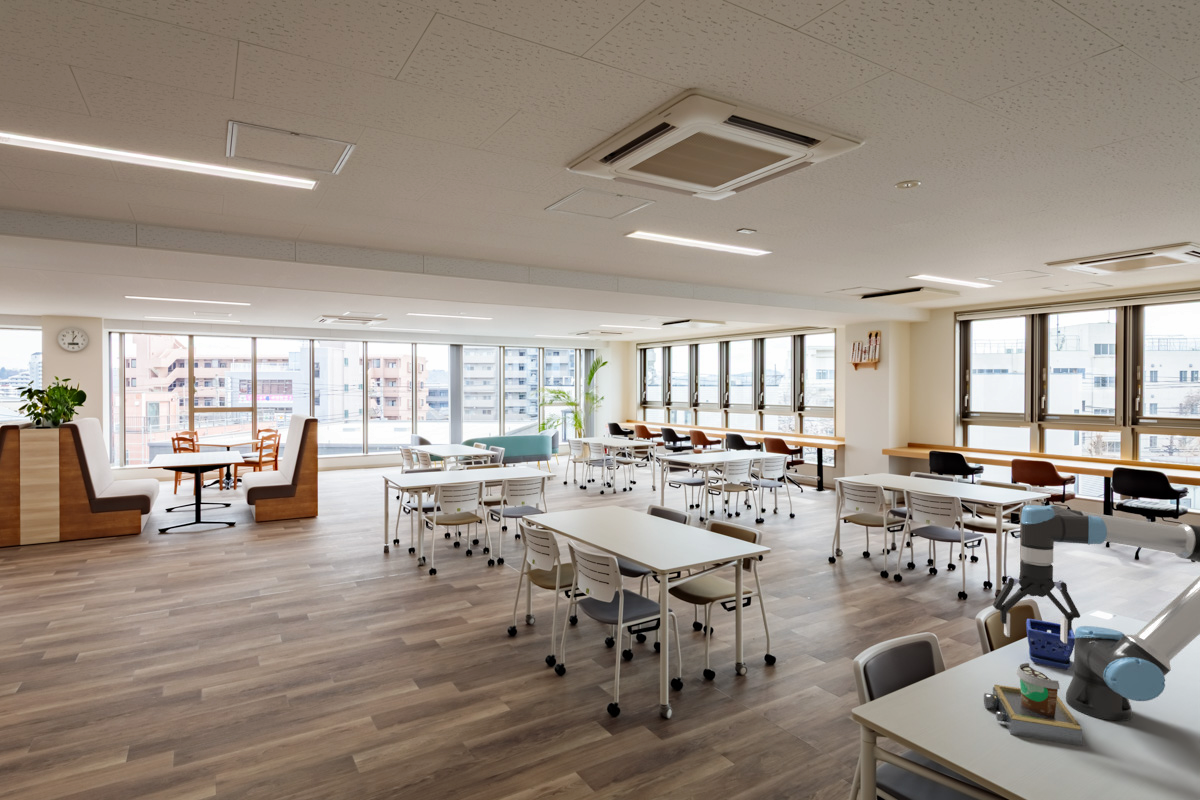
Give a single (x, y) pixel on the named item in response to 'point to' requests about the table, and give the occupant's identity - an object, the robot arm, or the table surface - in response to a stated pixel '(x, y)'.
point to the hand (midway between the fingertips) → (1034, 638)
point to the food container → (1037, 690)
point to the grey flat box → (1033, 717)
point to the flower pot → (1049, 644)
